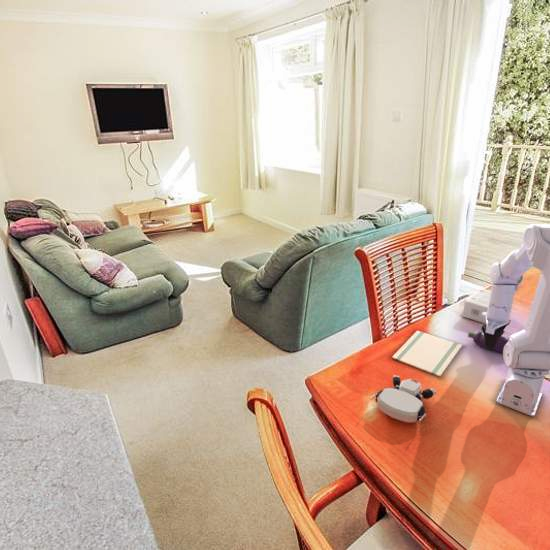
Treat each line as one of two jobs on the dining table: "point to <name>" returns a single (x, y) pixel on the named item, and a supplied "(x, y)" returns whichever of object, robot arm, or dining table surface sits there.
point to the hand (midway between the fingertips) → (492, 343)
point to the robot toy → (403, 400)
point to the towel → (427, 352)
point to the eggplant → (480, 341)
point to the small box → (477, 305)
